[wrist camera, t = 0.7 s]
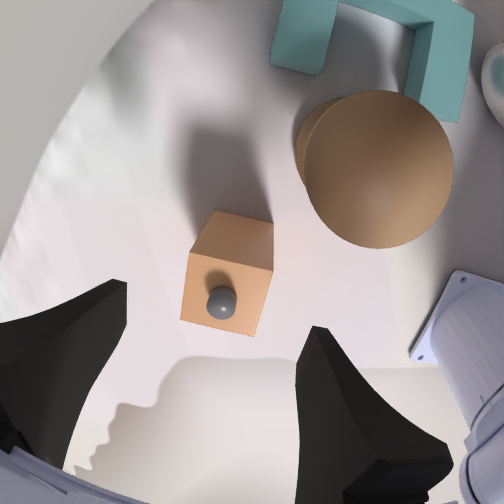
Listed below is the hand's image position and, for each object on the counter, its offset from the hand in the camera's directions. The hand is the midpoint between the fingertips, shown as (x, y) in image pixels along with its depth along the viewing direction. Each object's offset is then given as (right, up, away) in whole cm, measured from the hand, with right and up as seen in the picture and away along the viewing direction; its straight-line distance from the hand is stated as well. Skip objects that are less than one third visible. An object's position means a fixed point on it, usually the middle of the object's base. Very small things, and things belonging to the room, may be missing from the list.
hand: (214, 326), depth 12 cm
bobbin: (+7, +8, +5) cm, 12 cm away
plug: (+1, +3, +7) cm, 8 cm away
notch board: (+8, +15, +2) cm, 17 cm away
